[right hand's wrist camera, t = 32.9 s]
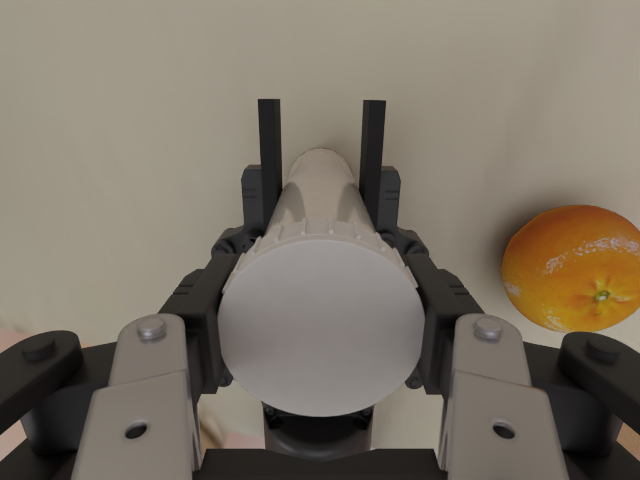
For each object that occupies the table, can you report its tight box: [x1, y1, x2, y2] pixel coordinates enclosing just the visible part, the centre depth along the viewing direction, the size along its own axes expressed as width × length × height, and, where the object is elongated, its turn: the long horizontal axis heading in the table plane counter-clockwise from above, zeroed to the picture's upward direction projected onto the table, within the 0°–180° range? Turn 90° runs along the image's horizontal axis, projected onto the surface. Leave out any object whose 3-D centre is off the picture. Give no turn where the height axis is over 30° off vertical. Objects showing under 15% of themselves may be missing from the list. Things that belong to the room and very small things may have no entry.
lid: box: [217, 217, 425, 417], centre depth 10 cm, size 5×5×2 cm
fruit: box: [501, 205, 640, 333], centre depth 25 cm, size 8×8×8 cm
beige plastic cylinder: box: [264, 149, 376, 237], centre depth 18 cm, size 4×4×17 cm
